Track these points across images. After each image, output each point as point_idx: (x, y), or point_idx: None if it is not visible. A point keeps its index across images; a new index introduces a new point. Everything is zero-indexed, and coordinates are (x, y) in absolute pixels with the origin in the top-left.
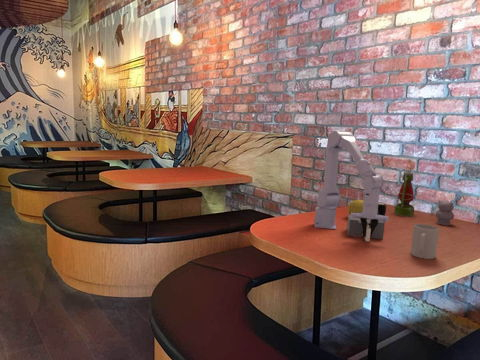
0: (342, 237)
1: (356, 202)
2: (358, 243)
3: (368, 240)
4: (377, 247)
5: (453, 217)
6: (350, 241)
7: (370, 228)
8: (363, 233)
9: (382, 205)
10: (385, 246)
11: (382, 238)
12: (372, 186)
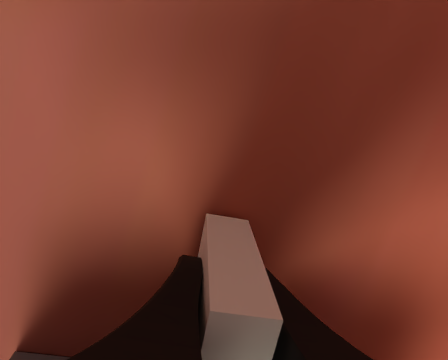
0: (438, 319)
1: None
2: (355, 138)
3: (219, 219)
4: (170, 5)
5: None
6: (416, 198)
7: (202, 347)
8: None
9: None
10: (48, 71)
11: (15, 357)
12: None
